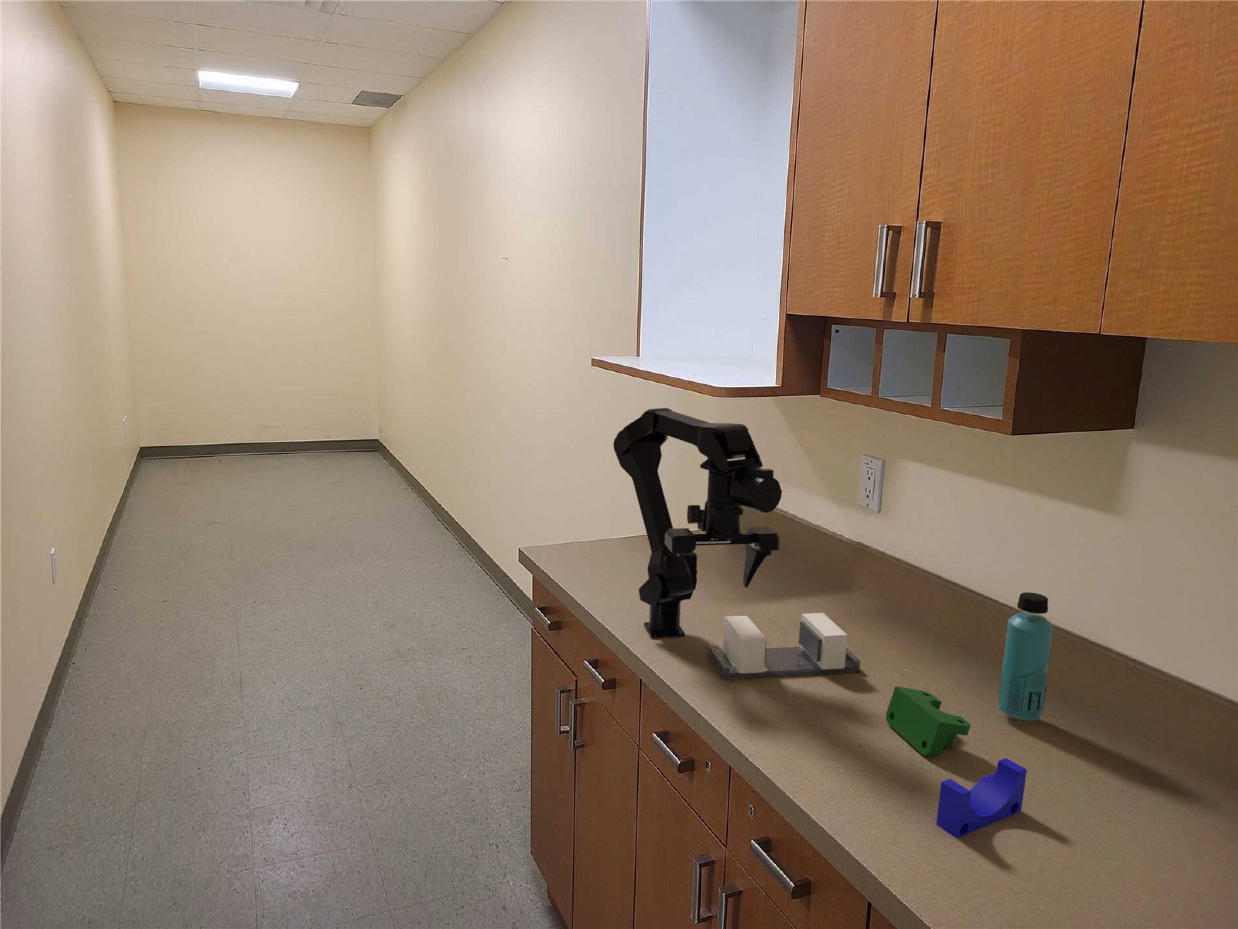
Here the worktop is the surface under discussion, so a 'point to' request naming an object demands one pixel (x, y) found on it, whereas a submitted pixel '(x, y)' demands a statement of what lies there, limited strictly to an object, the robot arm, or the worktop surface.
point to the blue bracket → (981, 800)
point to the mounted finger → (823, 641)
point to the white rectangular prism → (744, 644)
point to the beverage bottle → (1026, 659)
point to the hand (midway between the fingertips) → (719, 587)
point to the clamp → (923, 721)
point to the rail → (779, 663)
